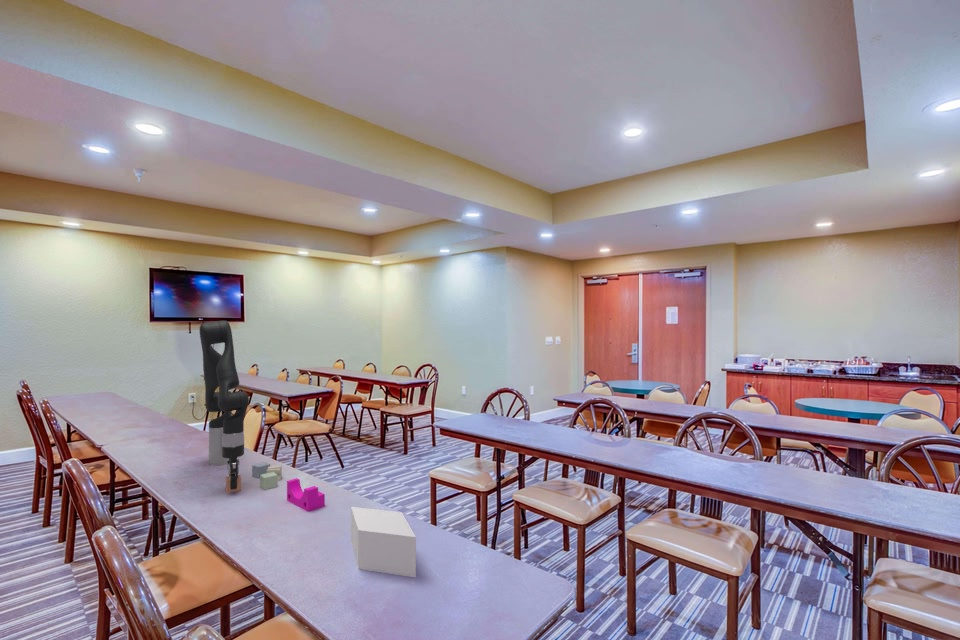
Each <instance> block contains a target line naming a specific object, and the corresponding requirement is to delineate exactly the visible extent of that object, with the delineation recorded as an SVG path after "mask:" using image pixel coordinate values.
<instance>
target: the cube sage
mask: <svg viewBox="0 0 960 640" xmlns="http://www.w3.org/2000/svg"><path fill="white" fill-rule="evenodd" d="M278 482H279V481H278V475H277V474H275V473H274V472H271V473H266V474H262V475H260V478H259V487H260V488H261V489H262V490H263V491H266V490H271V489H274V488H275V489H276V488H278V486H279V485H278Z"/></svg>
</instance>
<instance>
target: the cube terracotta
mask: <svg viewBox="0 0 960 640" xmlns="http://www.w3.org/2000/svg"><path fill="white" fill-rule="evenodd" d="M239 491H240V492H241V491H242V476H241V474H238V479H237V489H233V490H231V489H230V476H229V475H228V476H226V477H225V493H226V494H229V493H235V492H239Z"/></svg>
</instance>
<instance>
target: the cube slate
mask: <svg viewBox="0 0 960 640" xmlns="http://www.w3.org/2000/svg"><path fill="white" fill-rule="evenodd" d="M268 467H271V464H270V463H267V462H264V461H263V462H260V463H256V464H252V468H251V471H252V472H251V476H252V477H253V478H256V479H260V475H262V474H266V473H267V469H268Z"/></svg>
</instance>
